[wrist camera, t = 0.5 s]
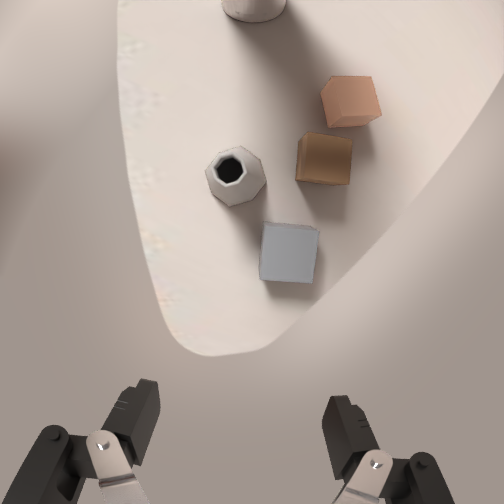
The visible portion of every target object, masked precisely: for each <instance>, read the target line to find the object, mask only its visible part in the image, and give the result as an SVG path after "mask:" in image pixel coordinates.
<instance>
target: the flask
mask: <svg viewBox="0 0 504 504" xmlns="http://www.w3.org/2000/svg"><path fill="white" fill-rule="evenodd" d="M205 173H206V177H207V180H208V184H209V187H210V190H211V193H212V194H213V195H215V196H216V197H217V198H219V199H220V200H222V201H223V202H224V203H226V204H227V205H228V206H233V205H237V204H240V203H244V202H247V201H251V200H253V198H254V197H255V196H256V195H257V193H258V192H259V191H260V189H261V188H262V187H263V186H264V184H265V183H266V178H265V175H264V171H263V168H262V165H261V161H260V159H259V158H257V157H256V156H255V155H253V154H252V153H250V152H249V151H248V150H246V149H245V148H244V147H242V146H239V147H236V148H232V149H229V150H226V151H222V152H219V153H218V154H217V156H216V157H215V158H214V160H213V161H212V162H211V164H210V165H209V166H208V168H207V169H206V170H205Z"/></svg>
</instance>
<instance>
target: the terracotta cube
mask: <svg viewBox="0 0 504 504" xmlns="http://www.w3.org/2000/svg"><path fill="white" fill-rule="evenodd" d="M320 94H321V99H322V103H323V107H324V111H325V115H326V120H327V124H328V128H333V127H348V126H363V125H365V124H367V123H369V122H370V121H372V120H374V119H376V118H378V117H379V116H381V115H382V114H381V110H380V106H379V102H378V99H377V95H376V91H375V88H374V84H373V81H372V77H370V76H332V77H331V78H330V80H329V81H328V83H327V84H326V85H325V87H324V88H323V90H322V91H321V92H320Z"/></svg>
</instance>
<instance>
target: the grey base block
mask: <svg viewBox="0 0 504 504" xmlns="http://www.w3.org/2000/svg"><path fill="white" fill-rule="evenodd" d="M318 238H319V231H318V230H316V229H315V228H313V227H311V226H305V225H295V224H285V223H274V222H263V228H262V239H261V250H260V260H259V277H260V280H271V281H284V282H298V283H312V282H313V275H314V268H315V261H316V254H317V246H318Z"/></svg>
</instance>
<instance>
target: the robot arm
mask: <svg viewBox="0 0 504 504" xmlns="http://www.w3.org/2000/svg"><path fill="white" fill-rule="evenodd" d="M221 2H222V7H223V9H224V11H225V12H226V13H227V14H228V15H229V16H231V17H232V18H234V19H237V20H240V21H244V22H264V21H268V20H271V19H273V18H275V17H277V16H278V15H280V14H281V13H282V11H283V10H284V8H285V4H286V0H221ZM159 414H160V398H159V391H158V384H157V382H156V381H151V380H146V379H140V381H139V383H138V385H137V386H136V388H134V387H128V388H127V389H126V390H124V391H123V392H122V393H121V394H120V396H119V398H118V401H117V402H116V403H115V405H114V407H113V409H112V410H111V412H110V414H109V416H108V418H107V419H106V421H105V423H104V425H103V427H102V428H101V430H97V431H94V432H92V433H91V434H90V435H89V436H77V435H69V434H68V432H67V431H66V430H65V429H64V428H63V427H61V426H58V425H50V426H47V427H45V428H44V429H43V430H42V432H41V433H40V435H39V436H38V438H37V440H36V441H35V443H34V445H33V446H32V448H31V450H30V451H29V453H28V455H27V457H26V459H25V460H24V462H23V464H22V466H21V467H20V469H19V471H18V473H17V475H16V477H15V479H14V481H13V482H12V484H11V486H10V488H9V490H8V492H7V494H6V496H5V498H4V500H3V502H2V504H77V501H78V499H79V496H80V493H81V491H82V488H83V485H84V483H85V480H86V478H94V479H99V487H100V489H101V492H102V494H103V496H104V499H105V501H106V503H107V504H150V502H149V501H148V499H147V497H146V496H145V494H144V492H143V490H142V488H141V486H140V485H139V483H138V481H137V479H136V477H135V475H134V474H133V472H132V470H131V469H132V467H133V464H135V465H139V466H141V464H142V461H143V458H144V456H145V453H146V450H147V447H148V444H149V442H150V438H151V436H152V433H153V431H154V428H155V425H156V422H157V420H158V417H159ZM322 429H323V433H324V437H325V441H326V444H327V449H328V452H329V457H330V461H331V465H332V468H333V473H334V477H335V480H339V479H344V483H345V484H344V485H343V487H342V488H341V490H340V492H339V493H338V495H337V496H336V497H335V499H334V500H333V502H332V503H331V504H378V503H379V499H378V498H385V501H386V504H455V503H454V501H453V498H452V496H451V494H450V491H449V489H448V487H447V485H446V482H445V480H444V478H443V476H442V473H441V471H440V469H439V467H438V465H437V462H436V460H435V459H434V457H433V456H432V455H430V454H428V453H425V452H418V453H416V454H414V455H413V456H412V457H411V458H410V459H394V458H391V456H390V455H389V454H388V453H387V452H385V451H383V450H380V449H379V446H378V444H377V441H376V439H375V437H374V434H373V432H372V430H371V427H370V425H369V423H368V421H367V418H366V416H365V414H364V411H363V410H362V409H361V408H359V407H358V406H357V405H351V403H350V400H349V398H348V396H347V395H343V396H331V397H330V399H329V402H328V405H327V407H326V410H325V413H324V415H323V419H322Z"/></svg>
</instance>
